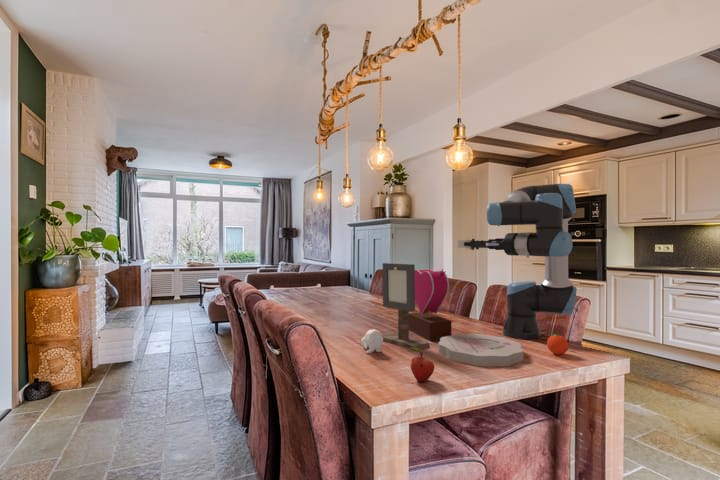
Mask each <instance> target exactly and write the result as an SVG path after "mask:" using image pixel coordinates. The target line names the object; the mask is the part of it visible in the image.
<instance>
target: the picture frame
mask: <svg viewBox="0 0 720 480" xmlns="http://www.w3.org/2000/svg"><path fill="white" fill-rule="evenodd" d="M415 267H416V265H415V264H413V263H412V264H411V263H388V262H384V263H383V262H382V307H384V308H388V309H395V310H398V309H400V310H405V311H409V312H410V313H413V312H416V300H415V270H416V268H415Z"/></svg>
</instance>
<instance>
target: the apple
mask: <svg viewBox="0 0 720 480" xmlns="http://www.w3.org/2000/svg"><path fill="white" fill-rule="evenodd" d="M412 349H415V350H414V351H417V352H419V353H420V356H418V355H415V356H413V358H412V359H411V362H410V369H411V373H412V374H413V376H414V378H415V380H416V381H417V382H419V383H420V382H421V383H426V382H427V381H428V380H429V379H430V378H431V376H432V375H433V373H434V370H435V363H434V362H433V361H432V360H431V359H430V358H425V357H424V356H423V355H424V352H423V351H420V349H418V348H416V347H412ZM412 349H411V348H408V350H412Z"/></svg>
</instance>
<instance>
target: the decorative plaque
mask: <svg viewBox="0 0 720 480" xmlns="http://www.w3.org/2000/svg"><path fill="white" fill-rule="evenodd" d="M437 345H438V347H437V349H438V350H437V351H438V353H439V354H440V355H442V356H444V357H447V358H448V359H449V360H450V361H452V362H459V363H465V364H469V365H473V366H477V367H489V366H492V367H495V366H496V367H508V366H511V365H513V364H516V363H521V362H523V361H524V349H523V348H522V344H521V343H519V342H516V341H512V340H510V339H508V338H507V337H502V336H494V335H488V334H485V333H483V334H482V333H455V334H451V336H445V337H441V338H440V340H439V342H438V343H437Z"/></svg>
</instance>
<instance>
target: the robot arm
mask: <svg viewBox="0 0 720 480" xmlns="http://www.w3.org/2000/svg"><path fill="white" fill-rule="evenodd" d="M576 207H577V206H576V200H575V193H574V187H573V186H572V185H571V184H570V183H552V184H549V183H548V184H541V185H527V186H524V187H521V188H518V189H517V188H516V189H515V190H513V191H511V192H510V193H508V194H507V196H506V197H505V199H504V200H503V201H502V202H501V201H500V202H499V201H497V202H491V203H488V204H487V207H486V221H487V224H488V225H490V226H498V227H499V226H521V225H523V226H525V225H532V226H533V225H535V232H508V233H506V234H505V235H504V237H503V238H494V239H491V238H489V239H488V240H483V239H482V240H478V239H477V240H475V238H472V239H470V240H469V239H468V240H464V239H463V240H457V248H458V249H459V248H460V249H461V248H462V249H467V248H469V249H476V250H479V249H489V250H495V251H504V253H505V255H507V256H525V257H526V258H530V257H531V256H532V257H544V278H543V279H542V280H541V282H540V284H537V282H536V281H534V280H533V281H531V280H529V281H527V280H526V281H517V282H511V283H509V284H508V285H507V287H506V288H507V289H506V308H507V309H506V319H505V321H504V323H503V324H504V325H503V327H502V334H503V335H504V336H507V337H509V338H514V339H521V340H523V339H524V340H535V339H540V338H541V335H542V333H541V329H540V326H539V323H538V320H537V313H542V314H543V313H544V314H554V315H555V314H556V315H571V314H573V313H574V310H575V306H576V300H577V299H576V297H577V292H578V291H577V287H576V286H575V285H573V281H572V280H570V279H569V254H571V252H572V250H573V239H572V238H573V237H572V234H570V233H569V221H570V220H571V219H573V214H576V213H577V208H576Z"/></svg>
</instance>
